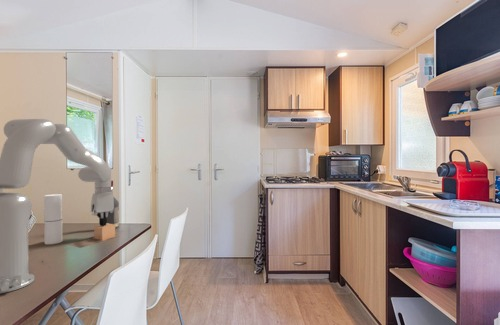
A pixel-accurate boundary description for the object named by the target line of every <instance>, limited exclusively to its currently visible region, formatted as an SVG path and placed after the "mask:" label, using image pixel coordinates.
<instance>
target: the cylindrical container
mask: <svg viewBox="0 0 500 325" xmlns="http://www.w3.org/2000/svg"><path fill="white" fill-rule="evenodd" d="M43 214H44V215H43V221H44V222H43V223H44V231H43V232H44V234H43V235H44V244H45V245H54V244H55V245H56V244H59V243H61V242H63V194H62V193H61V194H59V193H53V194H45V195H43Z"/></svg>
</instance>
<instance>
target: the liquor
mask: <svg viewBox="0 0 500 325" xmlns="http://www.w3.org/2000/svg"><path fill="white" fill-rule="evenodd" d="M113 186H114V180H111V187H113ZM113 188H114V187H113ZM113 190H114V189H113ZM113 190H111V192H112V194H113ZM113 195H114V194H113ZM113 199H114V209H113V212H112V213H110V214H109V215H108V217H107V223H109V224H114V225H115V230H118V229H119V227H120V206H119V205H120V203H119V202H120V201H118V199H116V198H115V197H114V196H113Z"/></svg>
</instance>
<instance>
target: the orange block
mask: <svg viewBox="0 0 500 325" xmlns="http://www.w3.org/2000/svg"><path fill="white" fill-rule="evenodd" d="M93 229H94V230H93V235H94V236H93V238H95V239H99V240H106V239H109V238H113V237H115V236H116V229H115V225H114V224H109V223H106V225H104V226H101V225H100V224H97V225H94V228H93ZM113 239H114V238H113ZM109 240H110V239H109ZM106 241H107V240H106Z"/></svg>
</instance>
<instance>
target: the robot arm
mask: <svg viewBox="0 0 500 325" xmlns="http://www.w3.org/2000/svg"><path fill="white" fill-rule="evenodd" d="M3 133H4V136H5V137H6V138H7V139H6V140H5V142H4V143H3V147H2V149H1V154H0V294H5V293H9V292H13V291H16V290H19V289H22V288H25V287H27V286H28V285H30V284H31V283H33V282H34V281H35V275H34V274H33V273H29V272H30V270H29V268H30V267H29V222H30V216H31V212H32V209H33V208H32V201H31V199H30V198H29V196H26V195H25V194H22V193H17V192H3V190H4V189H5V190H9V189H10V190H12V189H13V190H15V189H21V188H24V187H26V186H27V185H28V184H29V183H30V181H31V175H32V169H33V162H34V156H35V152H36V150H37V148H38V147H39V146H40V145H55V146H56V147H57V148H58V150H59V151H60V152H61V153H62V154H63V156H64V157H65V158H66V160H68V161H70V162H73V163H75V164H80V165H83V166H84V167H82V168H81V169H80V170H78V173H77V174H78V175H77V176H78V178H79V179H80V180H81V181H82V182H86V183H94V193H92V196H91V203H90V212H91V215H92V216H97V218H99V222H98V223H99V224H98V225H101V226H104V225H106V223H107V217H108V215H109V214H110V213H112V212H113V209H114V199H113V197H114V194H112V192H111V190H114V187H111V181H112V168H111V167H109V165H108V164H107V162H106V161H105V160H104V159H103V158H102V157H101V156H99V155H97V154H96V153H94V152H92V151H91V150H89V149H87V148H86V147H85V146H84V144H83V143H82V141H81V140H80V139H79V138H78V136H77V135H76V134H75V132H74V130H73V129H72V128H71V127H70V126H68V124H64V123H54V122H53V121H51V120H50V119H49V120H48V119H44V118H30V119H29V118H25V119H24V118H23V119H22V118H21V119H19V118H18V119H17V118H16V119H12V120H9V121H7V122H6V123H5V124H4V126H3Z"/></svg>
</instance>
